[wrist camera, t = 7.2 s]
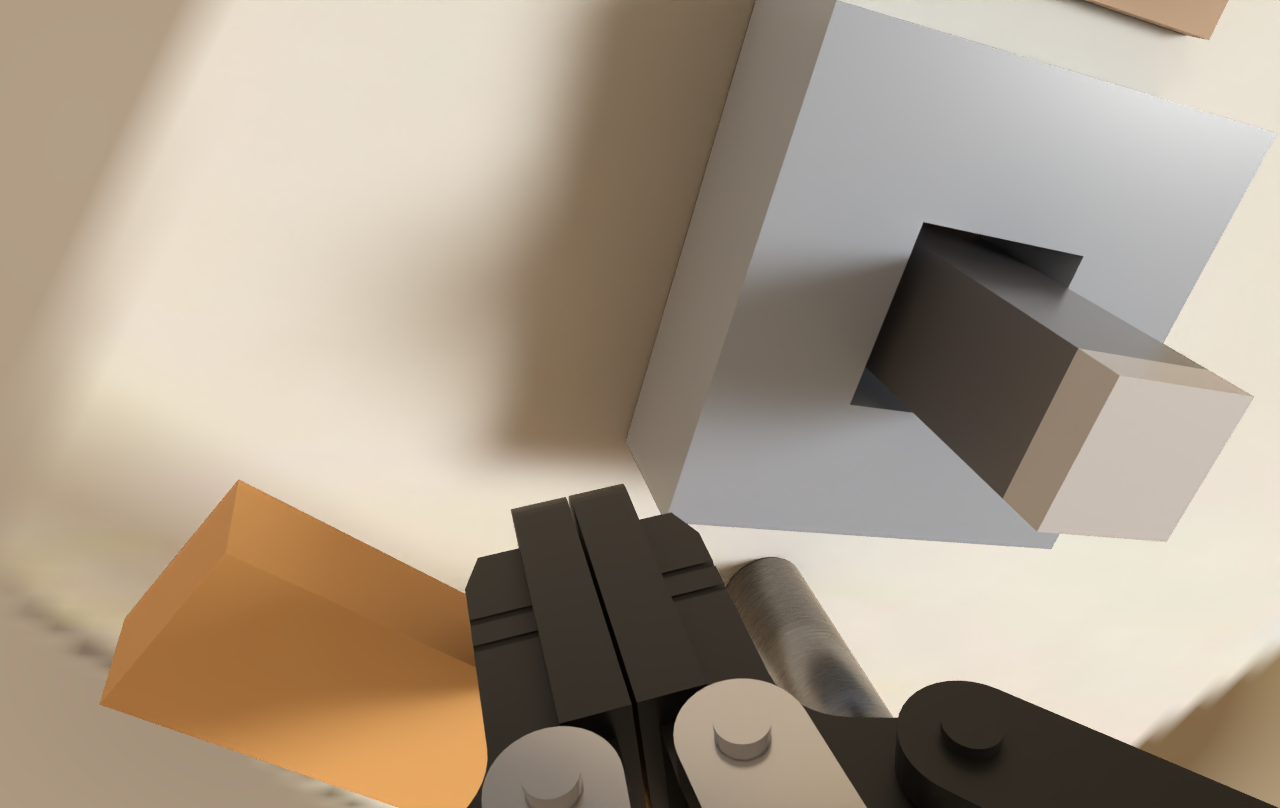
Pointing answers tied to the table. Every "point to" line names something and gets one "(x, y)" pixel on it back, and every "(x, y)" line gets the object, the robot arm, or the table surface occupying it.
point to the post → (801, 641)
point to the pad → (1173, 13)
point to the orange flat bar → (308, 657)
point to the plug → (1050, 392)
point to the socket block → (898, 259)
